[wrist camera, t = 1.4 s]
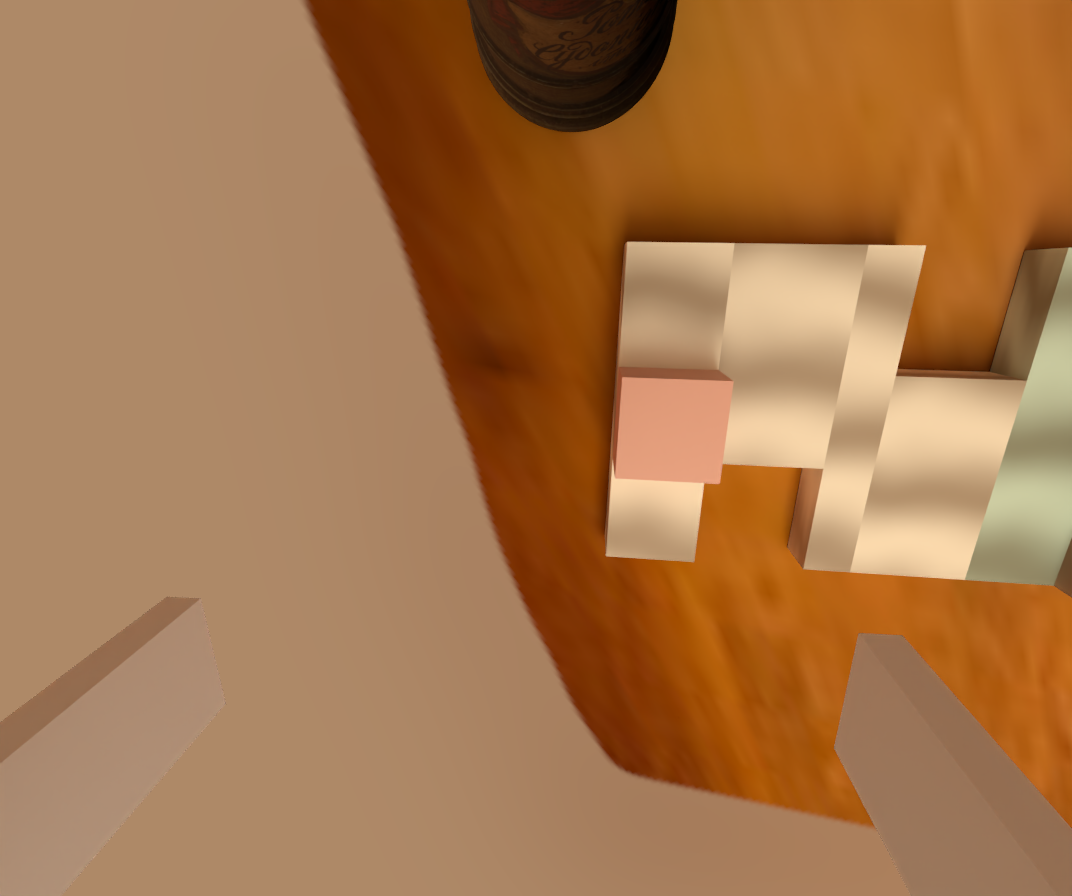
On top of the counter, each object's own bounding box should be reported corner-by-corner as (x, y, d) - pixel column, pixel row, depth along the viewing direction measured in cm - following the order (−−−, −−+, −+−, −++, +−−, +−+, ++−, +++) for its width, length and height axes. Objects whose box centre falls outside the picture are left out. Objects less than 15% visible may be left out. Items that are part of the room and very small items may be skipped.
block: (618, 366, 27) (622, 377, 24) (718, 370, 27) (733, 381, 24) (612, 458, 28) (615, 478, 26) (706, 463, 28) (719, 483, 25)
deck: (624, 244, 27) (630, 238, 23) (1147, 252, 25) (1260, 246, 21) (604, 535, 33) (607, 574, 28) (1036, 562, 31) (1108, 609, 26)
